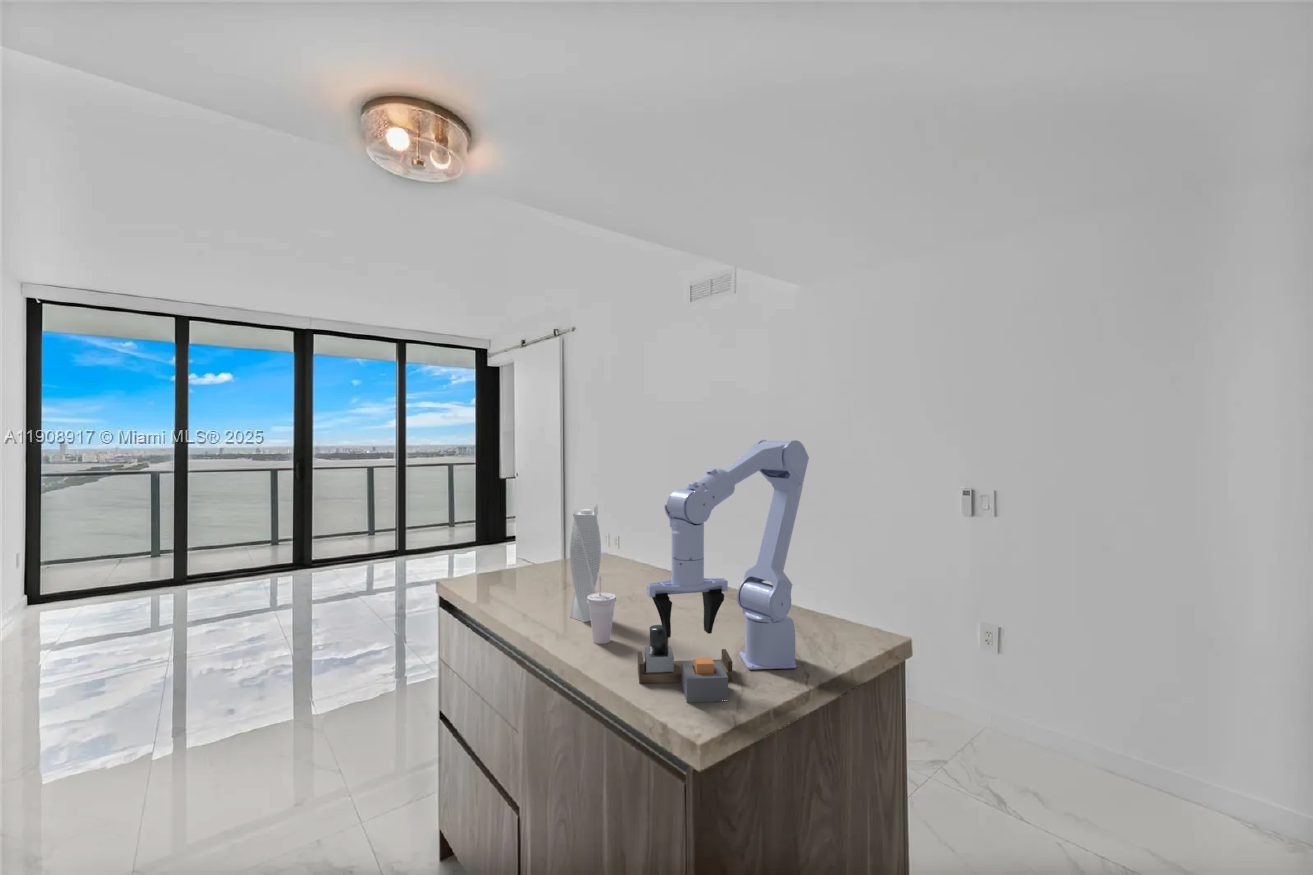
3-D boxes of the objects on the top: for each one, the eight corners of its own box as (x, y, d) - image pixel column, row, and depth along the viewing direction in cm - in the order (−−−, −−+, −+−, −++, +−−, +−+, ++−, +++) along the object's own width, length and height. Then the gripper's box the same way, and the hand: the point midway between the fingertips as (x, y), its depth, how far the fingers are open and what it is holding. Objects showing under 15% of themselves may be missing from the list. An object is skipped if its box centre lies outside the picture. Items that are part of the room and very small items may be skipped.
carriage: (670, 661, 109) (670, 623, 109) (673, 671, 104) (673, 632, 104) (644, 661, 108) (644, 623, 108) (646, 672, 103) (646, 632, 103)
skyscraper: (608, 617, 140) (608, 503, 140) (584, 625, 134) (584, 506, 134) (587, 611, 145) (587, 500, 145) (563, 617, 140) (564, 503, 140)
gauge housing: (719, 683, 103) (719, 661, 103) (728, 701, 96) (728, 677, 96) (681, 684, 102) (681, 662, 102) (686, 702, 95) (686, 678, 95)
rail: (725, 667, 110) (725, 649, 110) (732, 680, 104) (732, 661, 104) (637, 669, 109) (637, 651, 109) (639, 683, 103) (639, 664, 103)
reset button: (710, 677, 101) (711, 656, 101) (714, 684, 98) (714, 663, 98) (694, 677, 101) (694, 657, 101) (696, 685, 98) (696, 664, 98)
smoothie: (601, 633, 129) (601, 571, 129) (622, 640, 125) (622, 576, 124) (580, 641, 124) (580, 576, 124) (601, 648, 120) (601, 581, 120)
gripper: (717, 550, 107) (717, 623, 107) (642, 555, 103) (642, 630, 103) (732, 558, 100) (732, 635, 100) (652, 563, 96) (652, 643, 96)
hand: (687, 633), depth 101 cm, fingers open, 7 cm apart
